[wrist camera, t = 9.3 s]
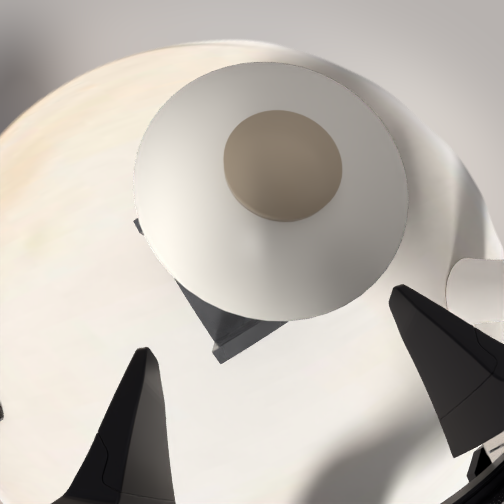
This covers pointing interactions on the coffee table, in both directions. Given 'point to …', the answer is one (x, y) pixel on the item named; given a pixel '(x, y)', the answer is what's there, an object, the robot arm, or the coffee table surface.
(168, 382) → the coffee table surface
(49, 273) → the coffee table surface
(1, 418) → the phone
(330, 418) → the coffee table surface
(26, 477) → the coffee table surface
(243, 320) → the tray
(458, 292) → the cosmetic bottle
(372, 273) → the paper roll
